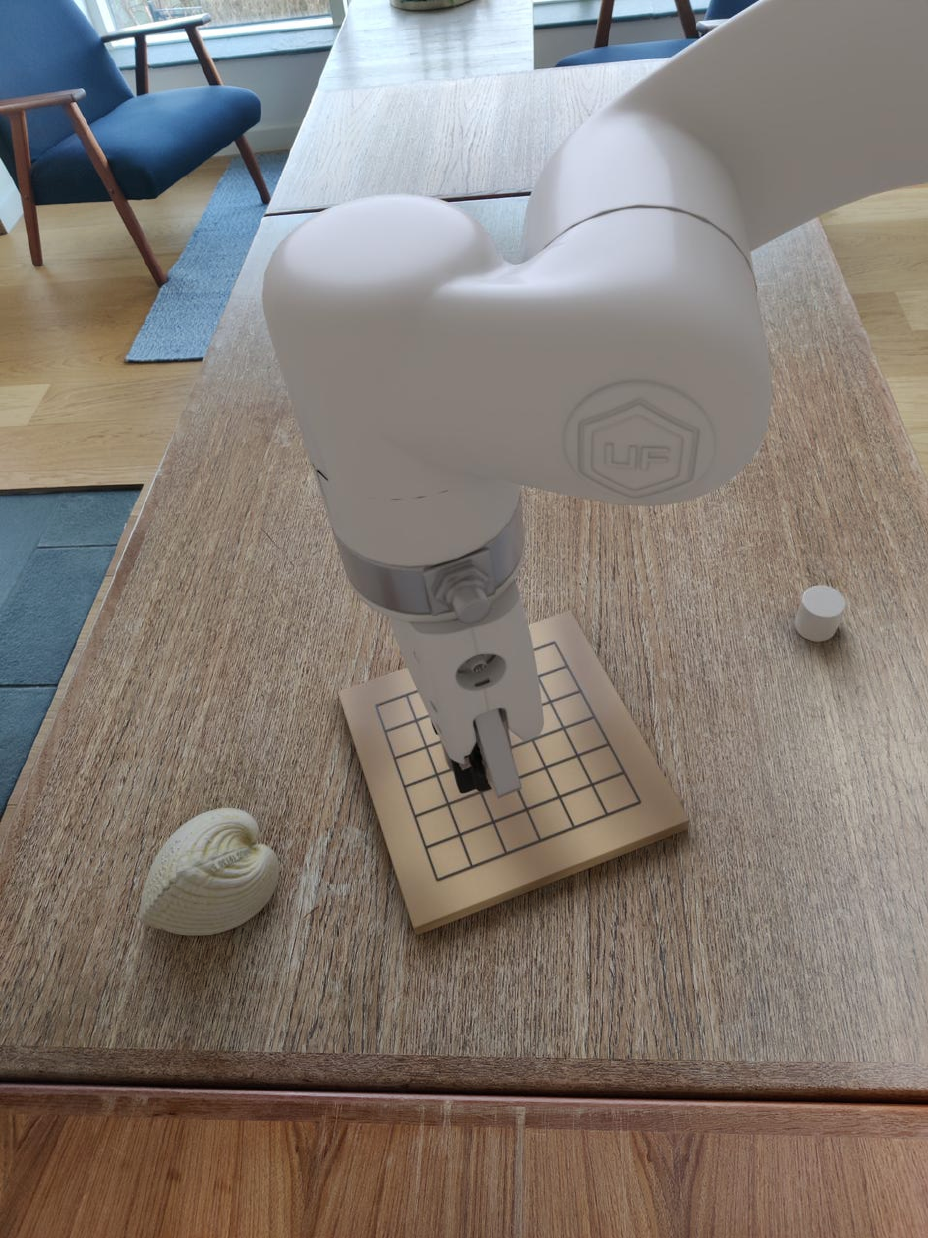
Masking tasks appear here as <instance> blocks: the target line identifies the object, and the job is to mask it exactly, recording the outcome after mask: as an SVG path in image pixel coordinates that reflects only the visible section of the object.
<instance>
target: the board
mask: <svg viewBox="0 0 928 1238" xmlns="http://www.w3.org/2000/svg"><path fill="white" fill-rule="evenodd" d="M528 626H529V630H530V634H531V639H532V644H533V649H534V654H535V660H536V666H537V672H538V679H539V685H540V692H541V699H542V707H543V714H544V726H543V730H542V732H541V734H540V735H538V736H536V737H534V738H532V739H530V740H528V741H523V740H522V739H520V738H519V737H518V736H516V735H515V734H514V733H513V732H512V731H510V730H509V734H510V740H511V746H512V754H513V759H514V762H515V765H516V769H517V772H518V776H519V779H520V783H521V786H522V789H521V790H518V791H515V792H513V793H510V794H508V795H505V796H503V797H500V798H497V797H496V795H495V793H494V791H493V790H492V788H491V789H489V790H486V791H478V790H477V789H475V790H472V791H470V792H467V793H460V792H459V789H458V787H457V784H456V780H455V776H454V772H453V771H452V770H451V769H450V768H449V767H448V765H447V763H446V761H445V758H444V754H443V750H442V746H441V742H440V738H439V735H436V734H435V731H434V729H433V727H432V723H431V719H430V716H429V714H428V712H427V710H426V708H425V706H424V703H423V701H422V699H421V697H420V695H419V693H418V691H417V689H416V686H415V684H414V682H413V680H412V677H411V675H410V673H409V670H408V668H407V667H405V668H404V667H403V668H401V669H398V670H396V671H393V672H390V673H388V674H384V675H382V676H378V677H376V678H373V679H369V680H367V681H365V682H361V683H358V684H356V685H353V686H350V687H347V688H344V689H341V690H339V691H337V695H338V698H339V701H340V704H341V707H342V711H343V714H344V718H345V720H346V723H347V726H348V729H349V732H350V735H351V739H352V742H353V744H354V748H355V751H356V754H357V757H358V760H359V763H360V768H361V770H362V772H363V776H364V779H365V782H366V785H367V788H368V792H369V794H370V797H371V798H370V799H371V801H372V804H373V807H374V810H375V813H376V816H377V820H378V822H379V826H380V829H381V832H382V835H383V838H384V841H385V842H384V843H385V844H386V848H387V851H388V854H389V858H390V860H391V863H392V867H393V869H394V872H395V875H396V879H397V882H398V885H399V888H400V891H401V895H402V897H403V900H404V904H405V907H406V910H407V913H408V916H409V919H410V922H411V926H412V928H413V931H414V934H415V935H416V936H420V935H422V934H425V933H427V932H430V931H432V930H435V929H437V928H440V927H443V926H445V925H447V924H450V923H453V922H456V921H458V920H461V919H463V918H466V917H468V916H471V915H474V914H477V913H479V912H480V911H483V910H486V909H489V908H491V907H494V906H496V905H499V904H501V903H505V902H506V901H509V900H511V899H514V898H517V897H519V896H522V895H524V894H526V893H529V892H533V891H534V890H537V889H539V888H542V887H544V886H548V885H551V884H552V883H554V882H557V881H560V880H562V879H565V878H568V877H570V876H573V875H575V874H578V873H581V872H582V871H585V870H588V869H590V868H592V867H595V866H598V865H600V864H603V863H605V862H608V861H610V860H613V859H616V858H619V857H621V856H623V855H626V854H628V853H629V854H630V853H631V852H633V851H636V850H638V849H641V848H644V847H647V846H649V845H651V844H654V843H656V842H659V841H661V840H664V839H667V838H669V837H673V836H675V835H677V834H679V833H682V832H684V831H687V830H689V825H690V818H689V816H688V814H687V812H686V810H685V809H684V807H683V806H682V803H681V802H680V800H679V799H678V796H677V795H676V793H675V792H674V790H673V787H671V784H670V782H669V781H668V779H667V777H666V776H665V773H664V771H662V769H661V766H660V765H659V763H658V761H657V760H656V758H655V756H654V754H653V752H652V750H651V749H650V747H649V745H648V743H647V742H646V740H645V739H644V736H643V734H642V733H641V732H640V730H639V728H638V726H637V724H636V722H635V721H634V719H633V717H632V715H631V713H630V712H629V710H628V708H627V706H626V704H625V703H624V701H623V699H622V697H621V696H620V694H619V693H618V691H617V689H616V687H615V685H614V684H613V682H612V680H611V679H610V676H609V675H608V673H607V671H606V669H605V668H604V666H603V665H602V663H601V661H600V658H599V657H598V656H597V654H596V652H595V650H594V648H593V646H592V644H591V643H590V641H589V640H588V638H587V636H586V634H585V633H584V631H583V629H582V627H581V625H580V624H579V622H578V620H577V618H576V617H575V615H574V613H573V611H572V610H571V609H570V610H567V611H563V612H561V613H558V614H556V615H555V614H554V615H552V616H550V617H546V618H544V619H541V620H538V621H536V622H533V623H530V624H529V623H528ZM508 729H509V728H508Z"/></svg>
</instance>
